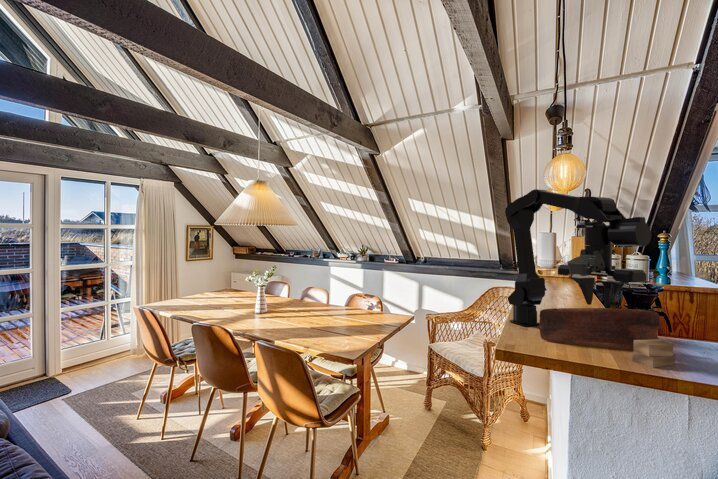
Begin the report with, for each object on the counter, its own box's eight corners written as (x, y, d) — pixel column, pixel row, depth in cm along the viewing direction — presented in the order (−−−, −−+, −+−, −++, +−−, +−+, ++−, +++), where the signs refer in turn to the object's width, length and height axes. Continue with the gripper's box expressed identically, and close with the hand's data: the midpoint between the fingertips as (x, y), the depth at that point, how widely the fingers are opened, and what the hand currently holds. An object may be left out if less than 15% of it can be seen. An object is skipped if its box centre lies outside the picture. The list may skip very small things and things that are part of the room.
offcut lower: (632, 362, 74) (632, 351, 74) (653, 359, 76) (653, 348, 76) (653, 369, 70) (653, 358, 70) (674, 365, 72) (674, 354, 72)
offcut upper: (633, 351, 74) (633, 340, 74) (656, 350, 75) (656, 339, 75) (648, 356, 71) (648, 345, 71) (673, 355, 72) (673, 344, 72)
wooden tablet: (540, 342, 88) (540, 305, 88) (538, 340, 90) (538, 303, 90) (663, 353, 79) (663, 312, 79) (658, 350, 81) (658, 310, 81)
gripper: (543, 245, 90) (543, 301, 90) (616, 246, 73) (616, 316, 73) (571, 245, 94) (571, 299, 94) (648, 246, 77) (647, 313, 77)
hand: (597, 306), depth 84 cm, fingers open, 4 cm apart
